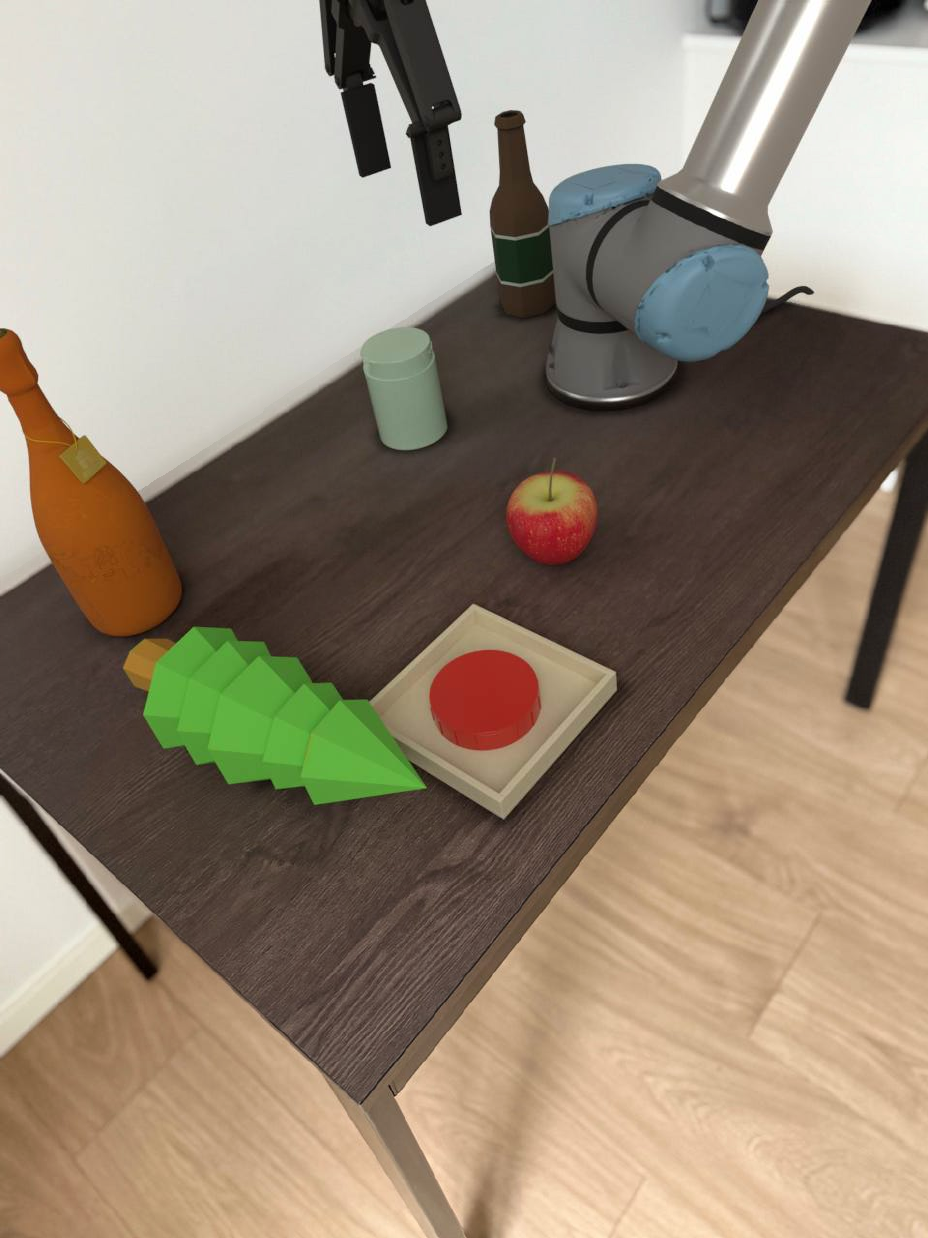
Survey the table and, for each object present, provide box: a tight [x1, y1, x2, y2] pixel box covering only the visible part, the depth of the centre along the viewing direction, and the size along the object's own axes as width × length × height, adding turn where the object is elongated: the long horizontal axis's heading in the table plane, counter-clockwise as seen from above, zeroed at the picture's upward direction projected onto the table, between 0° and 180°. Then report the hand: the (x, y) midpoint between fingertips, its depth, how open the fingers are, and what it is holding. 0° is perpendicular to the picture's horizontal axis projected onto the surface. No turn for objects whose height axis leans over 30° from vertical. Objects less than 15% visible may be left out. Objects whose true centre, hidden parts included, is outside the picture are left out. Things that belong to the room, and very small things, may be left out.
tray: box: [369, 603, 618, 820], centre depth 78 cm, size 15×15×2 cm
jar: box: [359, 326, 448, 451], centre depth 107 cm, size 8×8×11 cm
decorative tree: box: [122, 626, 428, 806], centre depth 74 cm, size 11×12×30 cm
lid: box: [429, 650, 541, 751], centre depth 78 cm, size 9×9×2 cm
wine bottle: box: [0, 327, 183, 637], centre depth 85 cm, size 10×10×30 cm
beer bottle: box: [489, 109, 556, 319], centre depth 120 cm, size 8×8×24 cm
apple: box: [505, 457, 598, 566], centre depth 88 cm, size 8×8×10 cm
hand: (407, 194), depth 76 cm, fingers open, 13 cm apart
